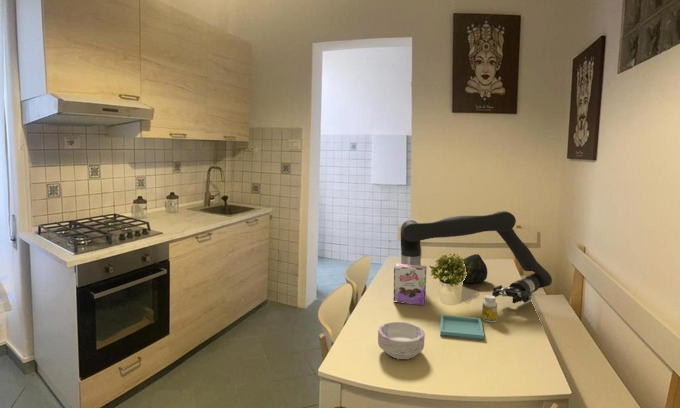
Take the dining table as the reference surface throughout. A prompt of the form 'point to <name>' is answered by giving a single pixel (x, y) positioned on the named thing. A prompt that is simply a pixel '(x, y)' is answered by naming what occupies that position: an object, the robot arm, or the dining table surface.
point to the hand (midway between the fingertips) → (503, 297)
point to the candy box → (410, 283)
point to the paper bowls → (401, 339)
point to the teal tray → (461, 327)
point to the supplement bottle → (489, 309)
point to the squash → (475, 269)
